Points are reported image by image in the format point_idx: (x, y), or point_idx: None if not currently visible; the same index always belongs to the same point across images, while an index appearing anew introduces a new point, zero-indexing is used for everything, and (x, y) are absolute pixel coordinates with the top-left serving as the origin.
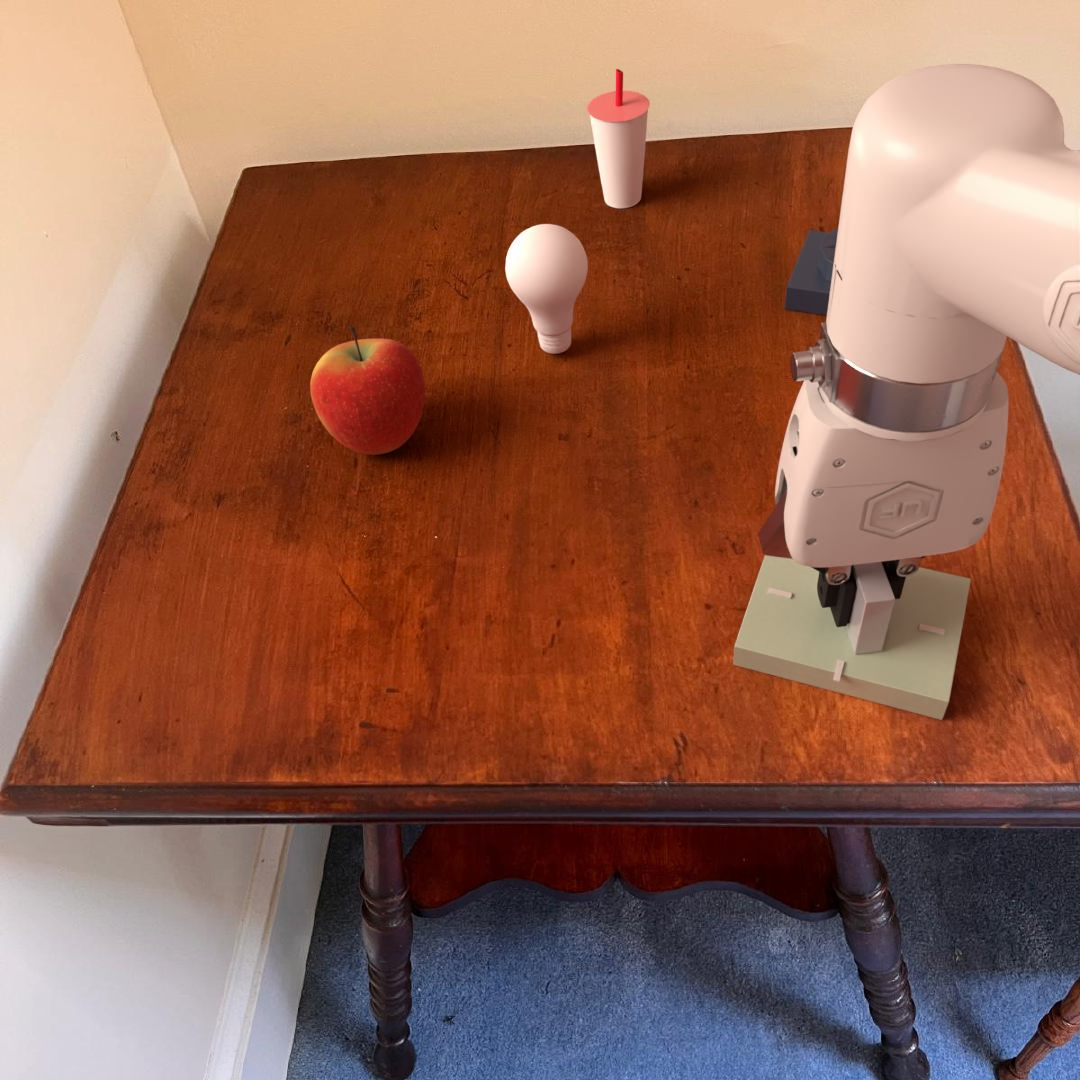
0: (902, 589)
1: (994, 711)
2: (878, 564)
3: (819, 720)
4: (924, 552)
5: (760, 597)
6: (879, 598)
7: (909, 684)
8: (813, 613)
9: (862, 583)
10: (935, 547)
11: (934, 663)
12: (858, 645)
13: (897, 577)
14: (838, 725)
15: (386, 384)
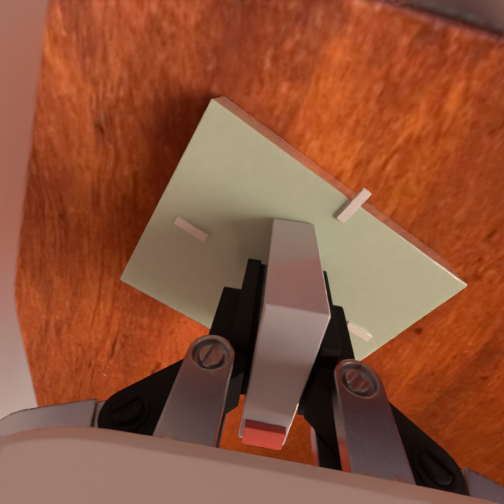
0: (219, 302)
1: (146, 90)
2: (259, 373)
3: (390, 147)
4: (168, 477)
5: (383, 333)
6: (296, 315)
7: (259, 150)
8: (332, 295)
9: (312, 352)
10: (119, 501)
11: (207, 176)
12: (313, 234)
13: (232, 338)
14: (370, 131)
15: None
